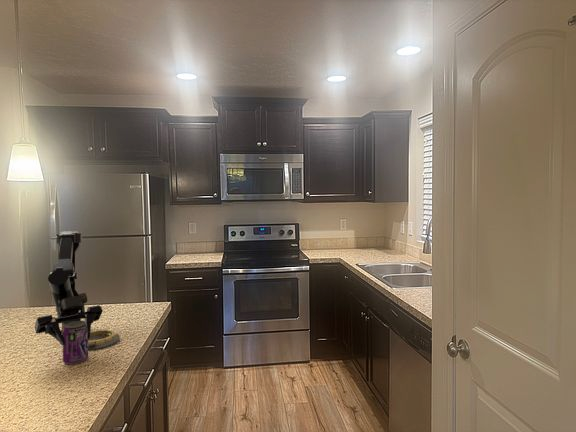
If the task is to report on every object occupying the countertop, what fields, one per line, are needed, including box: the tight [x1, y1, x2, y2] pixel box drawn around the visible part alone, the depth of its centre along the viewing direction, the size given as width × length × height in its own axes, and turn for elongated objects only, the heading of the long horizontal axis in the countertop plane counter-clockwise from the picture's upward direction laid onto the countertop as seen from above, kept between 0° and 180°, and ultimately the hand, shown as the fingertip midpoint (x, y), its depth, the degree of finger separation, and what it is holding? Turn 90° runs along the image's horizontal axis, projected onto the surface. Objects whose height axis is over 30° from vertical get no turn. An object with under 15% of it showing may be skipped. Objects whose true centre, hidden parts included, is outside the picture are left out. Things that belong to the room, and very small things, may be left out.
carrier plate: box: [88, 329, 120, 352], centre depth 138 cm, size 15×15×2 cm
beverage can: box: [61, 320, 90, 365], centre depth 122 cm, size 7×7×12 cm
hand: (76, 341), depth 121 cm, fingers closed on beverage can, 7 cm apart
